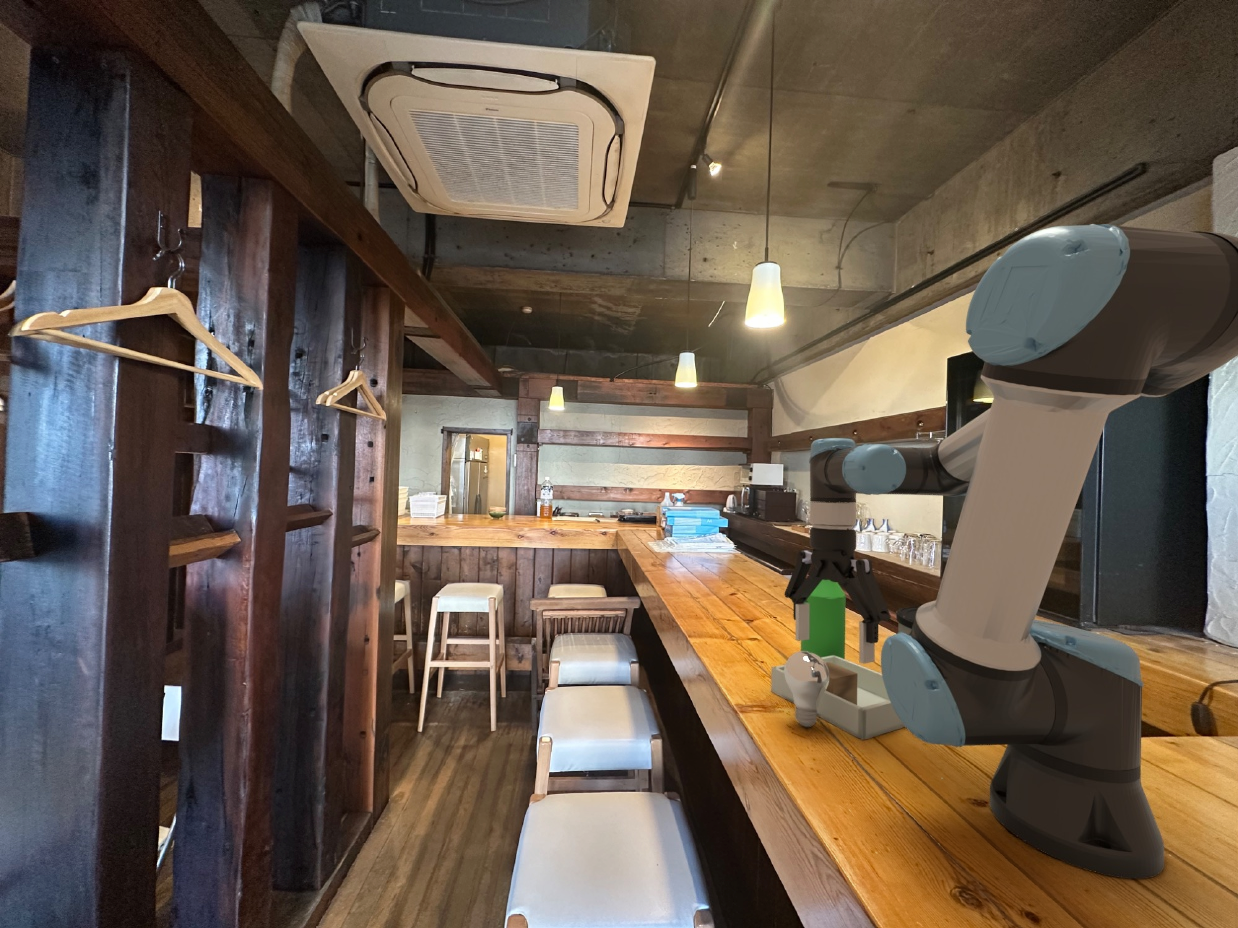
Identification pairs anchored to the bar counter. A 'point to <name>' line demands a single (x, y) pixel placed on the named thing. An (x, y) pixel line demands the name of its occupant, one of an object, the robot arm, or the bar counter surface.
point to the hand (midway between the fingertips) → (832, 650)
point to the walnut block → (842, 683)
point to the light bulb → (806, 684)
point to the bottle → (826, 620)
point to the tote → (859, 719)
